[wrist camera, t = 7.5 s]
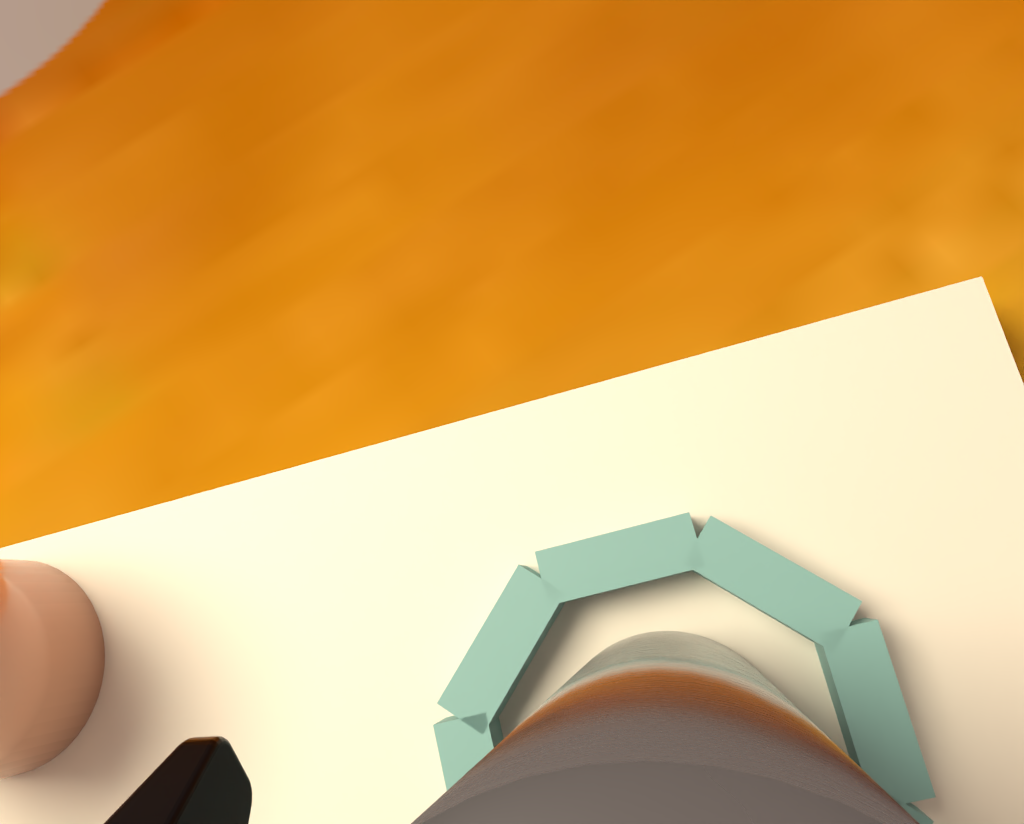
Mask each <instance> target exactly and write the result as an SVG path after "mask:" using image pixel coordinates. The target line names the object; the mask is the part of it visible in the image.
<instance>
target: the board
mask: <svg viewBox="0 0 1024 824" xmlns="http://www.w3.org/2000/svg"><path fill="white" fill-rule="evenodd" d="M0 559H15V560H30V561H37V562H41V563H45V564H48V565H50V566H52V567H55V568H57V569H59V570H60V571H62V572H63V573H65V574H67V575H68V576H69V577H70V578H72V579H73V580H74V581H75V582H76V583H77V584H78V585H79V586H80V587H81V588H82V590H83V591H84V592H85V593H86V595H87V596H88V598H89V599H90V601H91V603H92V605H93V607H94V609H95V611H96V613H97V615H98V618H99V622H100V625H101V628H102V633H103V638H104V648H105V666H104V675H103V681H102V686H101V689H100V693H99V696H98V699H97V702H96V704H95V707H94V709H93V712H92V714H91V715H90V717H89V719H88V721H87V723H86V725H85V726H84V727H83V729H82V730H81V732H80V733H79V734H78V736H77V737H76V738H75V739H74V740H73V742H72V743H71V744H70V745H69V746H68V747H67V748H66V749H65V750H64V751H62V752H61V753H60V754H59V755H58V756H57V757H55V758H54V759H52V760H51V761H49V762H48V763H46V764H44V765H42V766H40V767H38V768H36V769H34V770H31V771H28V772H25V773H22V774H19V775H15V776H12V777H8V778H5V779H1V780H0V824H104V823H105V822H106V821H107V820H108V818H109V817H110V816H111V815H112V814H113V813H114V812H115V811H116V810H117V809H118V808H119V807H120V806H121V805H122V804H123V803H124V802H125V801H126V800H127V799H128V798H129V797H130V795H131V794H132V793H133V792H134V791H135V790H136V789H137V788H138V787H139V786H140V785H141V784H142V783H143V782H144V781H145V780H146V779H147V778H148V777H149V776H150V775H151V774H152V772H153V771H154V770H155V769H156V768H157V767H158V766H159V765H160V764H161V763H162V762H163V761H164V760H165V759H166V758H167V757H168V756H169V755H170V754H171V753H172V752H173V750H174V749H175V748H176V747H177V746H178V745H179V744H181V743H182V742H183V741H185V740H187V739H189V738H193V737H208V736H222V737H224V738H225V739H227V740H228V741H229V742H230V744H231V746H232V748H233V750H234V751H235V753H236V755H237V757H238V759H239V761H240V763H241V765H242V767H243V768H244V770H245V772H246V774H247V776H248V778H249V780H250V783H251V787H252V806H251V812H250V818H249V824H411V823H412V822H413V821H414V820H415V819H417V818H418V817H419V816H420V815H421V814H422V813H423V812H424V811H425V810H426V809H428V808H429V807H430V806H431V805H432V804H433V803H434V802H435V801H436V800H437V799H438V798H440V797H441V796H442V795H443V794H444V793H445V792H446V791H447V790H448V789H449V788H451V787H452V786H453V785H454V784H455V783H456V782H457V781H458V780H459V779H460V778H462V777H463V776H464V775H465V774H466V773H467V772H468V771H469V770H470V769H471V768H472V767H474V766H475V765H476V764H477V763H478V762H479V761H480V760H481V759H482V758H483V757H485V756H486V755H487V754H488V753H489V752H490V751H491V750H492V749H493V748H494V747H496V746H497V745H498V744H499V743H500V742H501V741H502V740H503V739H504V738H505V737H506V736H508V735H509V734H510V733H511V732H512V731H513V730H514V729H515V728H516V727H517V726H519V725H520V724H521V723H522V722H523V721H524V720H525V719H526V718H527V717H528V716H530V715H531V714H532V713H533V712H534V711H535V710H536V709H537V708H538V707H539V706H541V705H542V704H543V703H544V702H545V701H546V700H547V699H548V698H549V697H550V696H551V695H553V694H554V693H555V692H556V691H557V690H558V689H559V688H560V687H561V686H562V685H564V684H565V683H566V682H567V681H568V680H569V679H570V678H571V677H572V676H573V675H575V674H576V673H577V672H578V671H579V670H580V669H581V668H582V667H583V666H584V665H585V664H587V663H588V662H589V661H590V660H591V659H592V658H593V657H594V656H596V655H597V654H598V653H600V652H601V651H603V650H604V649H605V648H607V647H609V646H611V645H612V644H614V643H616V642H618V641H620V640H623V639H625V638H628V637H631V636H634V635H638V634H642V633H647V632H655V631H681V632H686V633H691V634H697V635H700V636H703V637H706V638H709V639H712V640H714V641H716V642H718V643H720V644H723V645H725V646H727V647H728V648H730V649H731V650H733V651H734V652H736V653H738V654H739V655H741V656H742V657H743V658H744V659H745V660H747V661H748V662H749V663H750V664H752V665H753V666H754V667H755V668H756V669H757V670H758V671H759V672H760V673H761V674H762V675H763V676H764V677H765V678H767V679H768V680H769V681H770V682H771V683H772V684H773V685H774V686H775V687H776V688H777V689H778V690H779V691H780V692H781V693H782V694H783V695H784V696H785V697H787V698H788V699H789V700H790V701H791V702H792V703H793V704H794V705H795V706H796V707H797V708H798V709H799V710H800V711H801V712H802V713H803V714H804V715H806V716H807V717H808V718H809V719H810V720H811V721H812V722H813V723H814V724H815V725H816V726H817V727H818V728H819V729H820V730H821V731H822V732H823V733H825V734H826V735H827V736H828V737H829V738H830V739H831V740H832V741H833V742H834V743H835V744H836V745H837V746H838V747H839V748H840V749H841V750H842V751H843V752H845V753H846V754H847V755H848V756H849V757H850V758H851V759H852V760H853V761H854V762H855V763H856V764H857V765H858V766H859V767H860V768H861V769H862V770H864V771H865V772H866V773H867V774H868V775H869V776H870V777H871V778H872V779H873V780H874V781H875V782H876V783H877V784H878V785H879V786H880V787H881V788H882V789H884V790H885V791H886V792H887V793H888V794H889V795H890V796H891V797H892V798H893V799H894V800H895V801H896V802H897V803H898V804H899V805H900V806H901V807H903V808H904V809H905V810H906V811H907V812H908V813H909V814H910V815H911V816H912V817H913V818H914V819H915V820H916V821H917V822H918V823H919V824H1024V384H1023V381H1022V379H1021V376H1020V374H1019V371H1018V368H1017V366H1016V363H1015V361H1014V358H1013V356H1012V353H1011V350H1010V348H1009V345H1008V343H1007V340H1006V337H1005V335H1004V332H1003V330H1002V327H1001V325H1000V322H999V319H998V317H997V314H996V312H995V309H994V307H993V304H992V301H991V299H990V296H989V294H988V291H987V288H986V286H985V283H984V281H983V278H982V277H978V278H974V279H971V280H967V281H964V282H960V283H956V284H953V285H949V286H945V287H942V288H938V289H935V290H931V291H927V292H924V293H920V294H917V295H913V296H909V297H906V298H902V299H899V300H895V301H891V302H888V303H884V304H881V305H877V306H873V307H870V308H866V309H863V310H859V311H855V312H852V313H848V314H844V315H841V316H837V317H834V318H830V319H826V320H823V321H819V322H816V323H812V324H808V325H805V326H801V327H798V328H794V329H790V330H787V331H783V332H780V333H776V334H772V335H769V336H765V337H761V338H758V339H754V340H751V341H747V342H743V343H740V344H736V345H733V346H729V347H725V348H722V349H718V350H715V351H711V352H707V353H704V354H700V355H697V356H693V357H689V358H686V359H682V360H678V361H675V362H671V363H668V364H664V365H660V366H657V367H653V368H650V369H646V370H642V371H639V372H635V373H632V374H628V375H624V376H621V377H617V378H614V379H610V380H606V381H603V382H599V383H596V384H592V385H588V386H585V387H581V388H577V389H574V390H570V391H567V392H563V393H559V394H556V395H552V396H549V397H545V398H541V399H538V400H534V401H531V402H527V403H523V404H520V405H516V406H513V407H509V408H505V409H502V410H498V411H494V412H491V413H487V414H484V415H480V416H476V417H473V418H469V419H466V420H462V421H458V422H455V423H451V424H448V425H444V426H440V427H437V428H433V429H430V430H426V431H422V432H419V433H415V434H411V435H408V436H404V437H401V438H397V439H393V440H390V441H386V442H383V443H379V444H375V445H372V446H368V447H365V448H361V449H357V450H354V451H350V452H347V453H343V454H339V455H336V456H332V457H329V458H325V459H321V460H318V461H314V462H310V463H307V464H303V465H300V466H296V467H292V468H289V469H285V470H282V471H278V472H274V473H271V474H267V475H264V476H260V477H256V478H253V479H249V480H246V481H242V482H238V483H235V484H231V485H227V486H224V487H220V488H217V489H213V490H209V491H206V492H202V493H199V494H195V495H191V496H188V497H184V498H181V499H177V500H173V501H170V502H166V503H163V504H159V505H155V506H152V507H148V508H145V509H141V510H137V511H134V512H130V513H126V514H123V515H119V516H116V517H112V518H108V519H105V520H101V521H98V522H94V523H90V524H87V525H83V526H80V527H76V528H72V529H69V530H65V531H62V532H58V533H54V534H51V535H47V536H43V537H40V538H36V539H33V540H29V541H25V542H22V543H18V544H15V545H11V546H7V547H4V548H0Z"/></svg>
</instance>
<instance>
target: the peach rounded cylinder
mask: <svg viewBox="0 0 1024 824" xmlns="http://www.w3.org/2000/svg"><path fill="white" fill-rule="evenodd" d="M104 666H105V648H104V638H103V633H102V628H101V625H100V622H99V618H98V615H97V613H96V611H95V609H94V607H93V605H92V603H91V601H90V599H89V598H88V596H87V595H86V593H85V592H84V591H83V590H82V588H81V587H80V586H79V585H78V584H77V583H76V582H75V581H74V580H73V579H72V578H70V577H69V576H68V575H67V574H65V573H63V572H62V571H60V570H59V569H57V568H55V567H52V566H50V565H48V564H45V563H41V562H37V561H30V560H15V559H0V780H1V779H5V778H8V777H12V776H15V775H19V774H22V773H25V772H28V771H31V770H34V769H36V768H38V767H40V766H42V765H44V764H46V763H48V762H49V761H51V760H52V759H54V758H55V757H57V756H58V755H59V754H60V753H61V752H62V751H64V750H65V749H66V748H67V747H68V746H69V745H70V744H71V743H72V742H73V740H74V739H75V738H76V737H77V736H78V734H79V733H80V732H81V730H82V729H83V727H84V726H85V725H86V723H87V721H88V719H89V717H90V715H91V714H92V712H93V709H94V707H95V704H96V702H97V699H98V696H99V693H100V689H101V686H102V681H103V675H104Z"/></svg>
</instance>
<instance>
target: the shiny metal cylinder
mask: <svg viewBox="0 0 1024 824" xmlns="http://www.w3.org/2000/svg"><path fill="white" fill-rule="evenodd" d="M411 824H919V823H918V822H917V821H916V820H915V819H914V818H913V817H912V816H911V815H910V814H909V813H908V812H907V811H906V810H905V809H904V808H903V807H901V806H900V805H899V804H898V803H897V802H896V801H895V800H894V799H893V798H892V797H891V796H890V795H889V794H888V793H887V792H886V791H885V790H884V789H882V788H881V787H880V786H879V785H878V784H877V783H876V782H875V781H874V780H873V779H872V778H871V777H870V776H869V775H868V774H867V773H866V772H865V771H864V770H862V769H861V768H860V767H859V766H858V765H857V764H856V763H855V762H854V761H853V760H852V759H851V758H850V757H849V756H848V755H847V754H846V753H845V752H843V751H842V750H841V749H840V748H839V747H838V746H837V745H836V744H835V743H834V742H833V741H832V740H831V739H830V738H829V737H828V736H827V735H826V734H825V733H823V732H822V731H821V730H820V729H819V728H818V727H817V726H816V725H815V724H814V723H813V722H812V721H811V720H810V719H809V718H808V717H807V716H806V715H804V714H803V713H802V712H801V711H800V710H799V709H798V708H797V707H796V706H795V705H794V704H793V703H792V702H791V701H790V700H789V699H788V698H787V697H785V696H784V695H783V694H782V693H781V692H780V691H779V690H778V689H777V688H776V687H775V686H774V685H773V684H772V683H771V682H770V681H769V680H768V679H767V678H765V677H764V676H763V675H762V674H761V673H760V672H759V671H758V670H757V669H756V668H755V667H754V666H753V665H752V664H750V663H749V662H748V661H747V660H745V659H744V658H743V657H742V656H741V655H739V654H738V653H736V652H734V651H733V650H731V649H730V648H728V647H727V646H725V645H723V644H720V643H718V642H716V641H714V640H712V639H709V638H706V637H703V636H700V635H697V634H691V633H686V632H681V631H655V632H647V633H642V634H638V635H634V636H631V637H628V638H625V639H623V640H620V641H618V642H616V643H614V644H612V645H611V646H609V647H607V648H605V649H604V650H603V651H601V652H600V653H598V654H597V655H596V656H594V657H593V658H592V659H591V660H590V661H589V662H588V663H587V664H585V665H584V666H583V667H582V668H581V669H580V670H579V671H578V672H577V673H576V674H575V675H573V676H572V677H571V678H570V679H569V680H568V681H567V682H566V683H565V684H564V685H562V686H561V687H560V688H559V689H558V690H557V691H556V692H555V693H554V694H553V695H551V696H550V697H549V698H548V699H547V700H546V701H545V702H544V703H543V704H542V705H541V706H539V707H538V708H537V709H536V710H535V711H534V712H533V713H532V714H531V715H530V716H528V717H527V718H526V719H525V720H524V721H523V722H522V723H521V724H520V725H519V726H517V727H516V728H515V729H514V730H513V731H512V732H511V733H510V734H509V735H508V736H506V737H505V738H504V739H503V740H502V741H501V742H500V743H499V744H498V745H497V746H496V747H494V748H493V749H492V750H491V751H490V752H489V753H488V754H487V755H486V756H485V757H483V758H482V759H481V760H480V761H479V762H478V763H477V764H476V765H475V766H474V767H472V768H471V769H470V770H469V771H468V772H467V773H466V774H465V775H464V776H463V777H462V778H460V779H459V780H458V781H457V782H456V783H455V784H454V785H453V786H452V787H451V788H449V789H448V790H447V791H446V792H445V793H444V794H443V795H442V796H441V797H440V798H438V799H437V800H436V801H435V802H434V803H433V804H432V805H431V806H430V807H429V808H428V809H426V810H425V811H424V812H423V813H422V814H421V815H420V816H419V817H418V818H417V819H415V820H414V821H413V822H412V823H411Z"/></svg>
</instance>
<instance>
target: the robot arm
mask: <svg viewBox="0 0 1024 824" xmlns="http://www.w3.org/2000/svg"><path fill="white" fill-rule="evenodd" d="M251 806H252V787H251V783H250V780H249V778H248V776H247V774H246V772H245V770H244V768H243V767H242V765H241V763H240V761H239V759H238V757H237V755H236V753H235V751H234V750H233V748H232V746H231V744H230V742H229V741H228V740H227V739H225V738H224V737H222V736H208V737H193V738H189V739H187V740H185V741H183V742H182V743H181V744H179V745H178V746H177V747H176V748H175V749H174V750H173V752H172V753H171V754H170V755H169V756H168V757H167V758H166V759H165V760H164V761H163V762H162V763H161V764H160V765H159V766H158V767H157V768H156V769H155V770H154V771H153V772H152V774H151V775H150V776H149V777H148V778H147V779H146V780H145V781H144V782H143V783H142V784H141V785H140V786H139V787H138V788H137V789H136V790H135V791H134V792H133V793H132V794H131V795H130V797H129V798H128V799H127V800H126V801H125V802H124V803H123V804H122V805H121V806H120V807H119V808H118V809H117V810H116V811H115V812H114V813H113V814H112V815H111V816H110V817H109V818H108V820H107V821H106V822H105V823H104V824H249V818H250V812H251Z"/></svg>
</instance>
